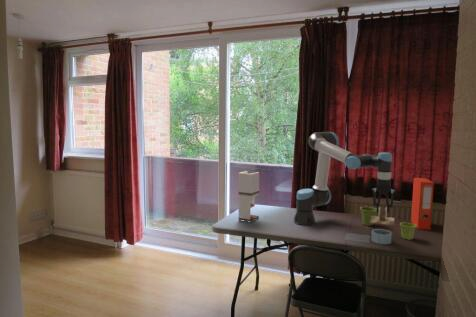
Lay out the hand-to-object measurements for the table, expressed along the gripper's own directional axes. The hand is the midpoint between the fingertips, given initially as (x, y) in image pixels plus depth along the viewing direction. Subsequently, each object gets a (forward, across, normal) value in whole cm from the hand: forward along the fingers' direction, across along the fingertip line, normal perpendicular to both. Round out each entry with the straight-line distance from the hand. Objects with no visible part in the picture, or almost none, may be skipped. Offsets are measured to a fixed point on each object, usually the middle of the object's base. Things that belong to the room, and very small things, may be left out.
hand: (382, 217), depth 207 cm
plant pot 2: (+15, +14, +13) cm, 25 cm away
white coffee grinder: (+15, -91, +10) cm, 92 cm away
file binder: (+15, +24, +45) cm, 53 cm away
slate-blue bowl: (+15, 0, 0) cm, 15 cm away
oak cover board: (+2, 0, 0) cm, 2 cm away
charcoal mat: (+15, -14, 0) cm, 20 cm away
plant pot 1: (+15, -10, +33) cm, 38 cm away
